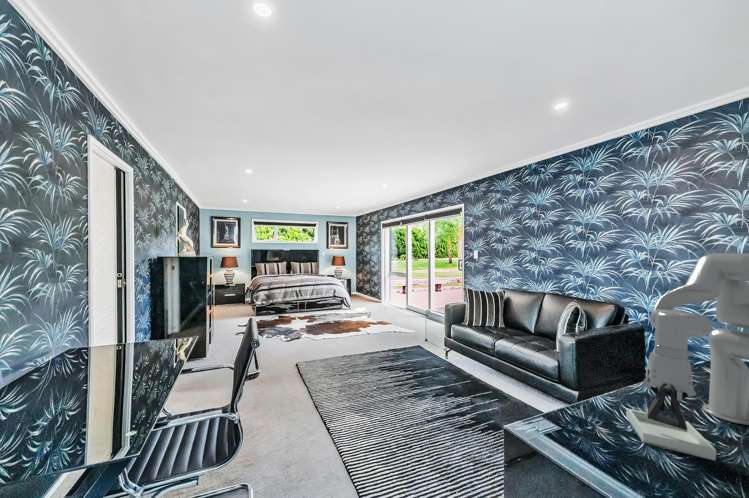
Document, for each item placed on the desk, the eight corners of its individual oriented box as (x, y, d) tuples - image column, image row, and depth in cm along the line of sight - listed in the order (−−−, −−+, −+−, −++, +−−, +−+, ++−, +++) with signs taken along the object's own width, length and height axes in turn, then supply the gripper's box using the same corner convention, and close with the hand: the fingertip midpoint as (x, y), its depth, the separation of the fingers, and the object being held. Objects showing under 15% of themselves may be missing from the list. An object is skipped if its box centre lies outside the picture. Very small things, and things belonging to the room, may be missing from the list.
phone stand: (685, 423, 97) (687, 384, 97) (687, 430, 92) (689, 390, 93) (647, 411, 103) (649, 375, 103) (647, 418, 98) (649, 380, 98)
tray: (687, 430, 102) (687, 421, 102) (715, 460, 87) (716, 450, 87) (626, 416, 109) (626, 408, 109) (642, 442, 94) (643, 432, 94)
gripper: (698, 354, 98) (695, 412, 98) (634, 344, 105) (631, 398, 105) (711, 361, 91) (708, 423, 91) (641, 350, 98) (638, 408, 98)
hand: (667, 409), depth 98 cm, fingers closed on phone stand, 2 cm apart
